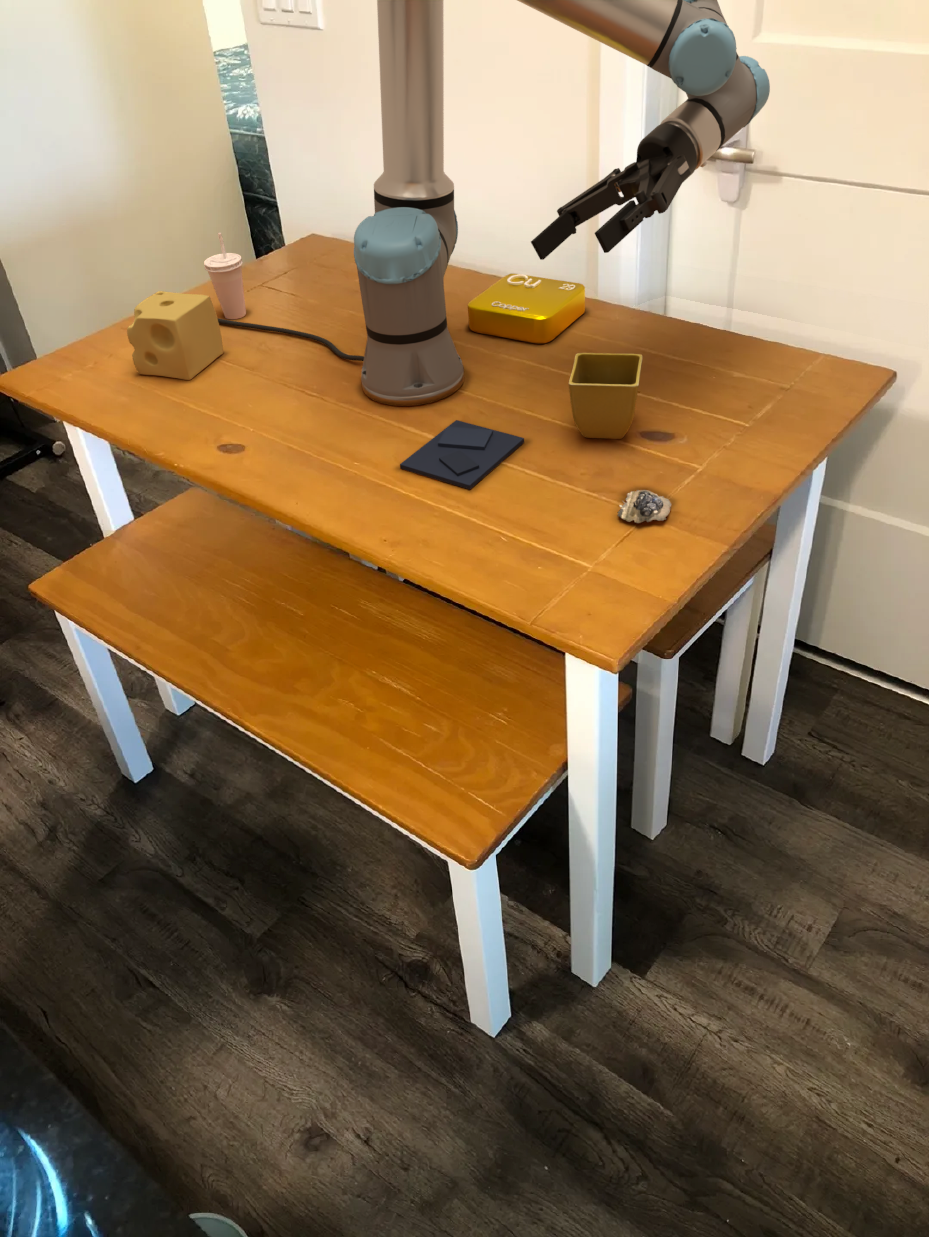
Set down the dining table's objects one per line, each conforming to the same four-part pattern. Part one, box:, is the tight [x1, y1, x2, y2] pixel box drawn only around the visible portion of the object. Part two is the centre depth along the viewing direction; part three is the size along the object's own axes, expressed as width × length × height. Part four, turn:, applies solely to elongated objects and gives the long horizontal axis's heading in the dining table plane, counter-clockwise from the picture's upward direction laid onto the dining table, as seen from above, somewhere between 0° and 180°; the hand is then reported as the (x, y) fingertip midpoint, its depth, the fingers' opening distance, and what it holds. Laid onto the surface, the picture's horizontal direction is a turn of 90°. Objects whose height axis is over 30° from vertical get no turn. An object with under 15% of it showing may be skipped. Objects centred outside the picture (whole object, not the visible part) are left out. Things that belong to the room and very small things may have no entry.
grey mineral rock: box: [616, 489, 672, 524], centre depth 116 cm, size 7×8×2 cm
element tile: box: [467, 273, 586, 345], centre depth 159 cm, size 15×15×5 cm
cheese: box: [126, 290, 224, 381], centre depth 155 cm, size 10×11×10 cm
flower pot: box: [568, 352, 644, 440], centre depth 129 cm, size 9×9×9 cm
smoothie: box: [203, 232, 247, 320], centre depth 167 cm, size 6×6×14 cm
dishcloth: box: [399, 419, 525, 490], centre depth 129 cm, size 11×13×1 cm
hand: (567, 247), depth 124 cm, fingers open, 13 cm apart
